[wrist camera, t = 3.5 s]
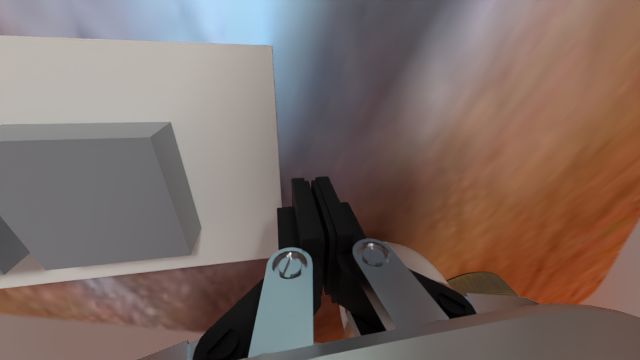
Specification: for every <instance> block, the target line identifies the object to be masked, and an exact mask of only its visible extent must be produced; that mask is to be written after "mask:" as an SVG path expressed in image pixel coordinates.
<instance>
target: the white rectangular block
mask: <svg viewBox="0 0 640 360" xmlns="http://www.w3.org/2000/svg"><path fill="white" fill-rule="evenodd" d="M126 122H171V124H172V128H173V131H174V135H175V138H176V141H177V145H178V148H179V152H180V155H181V159H182V162H183V166H184V169H185V172H186V176H187V179H188V183H189V186H190V190H191V193H192V197H193V200H194V203H195V207H196V210H197V214H198V217H199V221H200V224H201V230H200V233H199V236H198V238H197V241H196V243H195V246H194V248H193V251H192V253H191V255H188V256H179V257H169V258H160V259H150V260H141V261H131V262H122V263H112V264H103V265H94V266H84V267H75V268H65V269H56V270H46V271H45V270H44V268H43V267H42V266H41V265H40V263H39V262H38V261H37V260H36V259H35V257H34V256H33V255H32V254H31V253H30V254H28V255H27V256H26V257H25V258H24V259H23V260H21V261H20V262H19V263H18V264H17V265H15V266H14V267H13V268H12V269H11V270H10V271H8V272H7V273H6V274H5V275H0V288H9V287H18V286H27V285H35V284H44V283H53V282H62V281H71V280H79V279H88V278H97V277H106V276H115V275H124V274H132V273H141V272H150V271H159V270H168V269H177V268H185V267H194V266H203V265H212V264H221V263H229V262H238V261H247V260H256V259H265V258H270V257H271V256H272V255H273V254H274V253H276V252H277V251H279V250H278V225H277V208H282V200H281V184H280V168H279V151H278V135H277V119H276V102H275V86H274V69H273V53H272V46H267V45H240V44H213V43H187V42H160V41H133V40H106V39H80V38H53V37H26V36H0V125H2V124H61V123H126Z"/></svg>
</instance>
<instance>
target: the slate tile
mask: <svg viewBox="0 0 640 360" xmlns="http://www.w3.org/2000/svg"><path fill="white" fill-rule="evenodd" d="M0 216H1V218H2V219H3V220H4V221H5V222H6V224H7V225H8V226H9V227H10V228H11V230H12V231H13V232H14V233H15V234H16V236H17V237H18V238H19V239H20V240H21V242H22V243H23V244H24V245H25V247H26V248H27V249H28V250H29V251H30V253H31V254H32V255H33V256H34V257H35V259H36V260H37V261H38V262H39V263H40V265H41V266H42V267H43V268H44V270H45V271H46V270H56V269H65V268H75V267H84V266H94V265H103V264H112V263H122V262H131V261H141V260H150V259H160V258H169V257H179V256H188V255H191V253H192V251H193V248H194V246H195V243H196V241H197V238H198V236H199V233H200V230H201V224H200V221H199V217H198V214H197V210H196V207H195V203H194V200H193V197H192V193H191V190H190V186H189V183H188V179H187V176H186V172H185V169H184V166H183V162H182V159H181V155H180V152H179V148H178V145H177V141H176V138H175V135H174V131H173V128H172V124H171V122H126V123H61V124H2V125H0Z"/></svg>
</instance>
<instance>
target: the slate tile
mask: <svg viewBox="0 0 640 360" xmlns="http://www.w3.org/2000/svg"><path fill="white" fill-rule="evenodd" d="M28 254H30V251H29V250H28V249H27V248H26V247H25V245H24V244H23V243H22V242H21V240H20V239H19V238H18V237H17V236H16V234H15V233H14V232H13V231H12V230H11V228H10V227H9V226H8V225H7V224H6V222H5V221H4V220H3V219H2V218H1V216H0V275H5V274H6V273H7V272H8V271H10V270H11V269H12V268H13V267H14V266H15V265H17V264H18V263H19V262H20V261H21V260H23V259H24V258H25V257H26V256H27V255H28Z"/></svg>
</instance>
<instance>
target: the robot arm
mask: <svg viewBox="0 0 640 360" xmlns="http://www.w3.org/2000/svg"><path fill="white" fill-rule="evenodd" d="M277 225H278V250H279V251H277V252H276V253H274V254H273V255H272V256H271V257H270V259H269V261H268V263H267V267H266V272H265V277H264V278H263V279H262V280H261V281H260V282H259V283H258V284H257V285H256V286H255V287H253V288H252V289H251V290H250V291H249V292H248V293H247V294H246V295H245V296H244V297H243V298H242V299H241V300H239V301H238V302H237V303H236V304H235V305H234V306H233V307H232V308H231V309H230V310H229V311H228V312H227V313H226V314H224V315H223V316H222V317H221V318H220V319H219V320H218V321H217V322H216V323H215V324H214V325H213V326H212V327H210V328H209V329H208V330H207V331H206V333H205V334H204V335H203V336H202V337H201V338H200V340H197V341H195V342H192V343H190V344H189V342H188V341H185V342H182V343H179V344H177V345H175V346H172V347H169V348H167V349H164V350H161V351H159V352H157V353H154V354H151V355H149V356H146V357H144V358H141V359H138V360H640V318H639V317H637V316H633V315H631V314H627V313H624V312H620V311H616V310H611V309H606V308H602V307H596V306H591V305H580V304H568V303H548V304H539V303H537V302H535V301H533V300H530V299H528V298H524V297H518V296H503V295H489V294H475V293H465V295H464V296H463V295H461V294H460V293H458V292H457V291H455V290H453V289H451V288H449V287H447V286H445V285H443V284H440V283H438V282H436V281H434V280H432V279H430V278H428V277H426V276H423V275H421V274H419V273H417V272H415V271H413V270H411V269H409V268H407V267H406V265H405V264H404V263H403V262H402V261H401V259H400V258H399V257H398V256H397V255H396V253H395V252H394V251H393V250H392V249H391V248H390V247H389V246H388V245H387V244H385V243H384V242H382V241H379V240H376V239H367V238H366V236H365V234H364V232H363V231H362V229H361V227H360V225H359V223H358V221H357V219H356V217H355V215H354V213H353V211H352V209H351V207H350V205H349V204H348V203H347V202H342V203H340V201H339V199H338V197H337V195H336V193H335V191H334V188H333V186H332V184H331V182H330V180H329V178H328V177H316V179H315V180H312V182H311V188H310V184H309V181H304V178H295V179H292V207H282V208H277ZM323 286H324V291H325V294H326V295H330V296H331V300H332V303H337V304H339V305H340V306H342V307H344V308H345V313H346V317H347V319H348V321H349V323H350V325H351V328H352V330H353V332H354V334H355V337H352V338H347V339H342V340H337V341H332V342H326V343H321V344H316V345H313V316H314V315H315V313H316V312H317V310H318V309H319V308H320V305H321V296H322V287H323Z"/></svg>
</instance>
